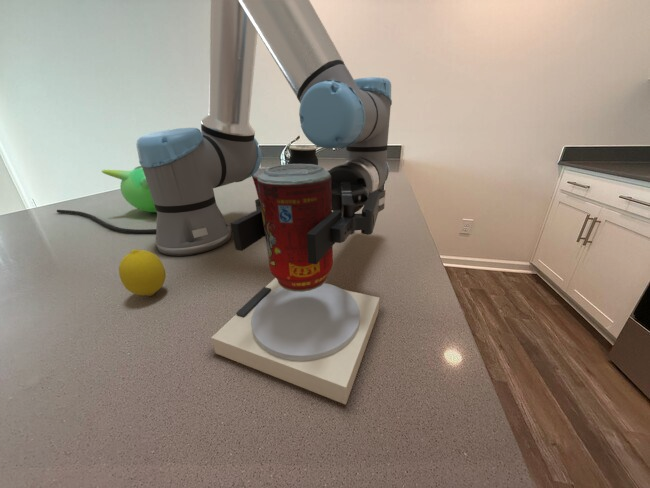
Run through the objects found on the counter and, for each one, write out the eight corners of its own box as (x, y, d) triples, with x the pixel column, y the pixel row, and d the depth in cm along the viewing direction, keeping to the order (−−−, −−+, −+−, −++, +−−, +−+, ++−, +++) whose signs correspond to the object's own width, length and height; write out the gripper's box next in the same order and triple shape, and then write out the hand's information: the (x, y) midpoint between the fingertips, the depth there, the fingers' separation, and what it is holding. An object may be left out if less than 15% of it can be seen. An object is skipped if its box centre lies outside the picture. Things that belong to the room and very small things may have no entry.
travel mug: (309, 204, 82) (308, 144, 74) (322, 212, 76) (323, 147, 68) (286, 209, 78) (283, 145, 70) (298, 217, 72) (296, 149, 64)
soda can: (266, 269, 31) (251, 165, 26) (320, 258, 34) (316, 160, 28) (278, 303, 25) (262, 177, 20) (343, 286, 28) (344, 169, 22)
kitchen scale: (215, 353, 30) (209, 332, 28) (279, 287, 41) (277, 270, 40) (345, 405, 24) (346, 381, 23) (378, 312, 36) (380, 292, 34)
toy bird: (203, 204, 86) (193, 158, 79) (164, 222, 71) (147, 167, 65) (158, 202, 90) (145, 158, 83) (112, 218, 75) (92, 166, 69)
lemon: (143, 286, 43) (125, 242, 39) (177, 283, 43) (163, 240, 40) (122, 307, 38) (100, 260, 34) (161, 304, 38) (143, 257, 35)
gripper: (412, 214, 40) (382, 302, 21) (297, 203, 47) (197, 261, 28) (418, 163, 36) (390, 213, 17) (294, 160, 44) (178, 193, 25)
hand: (271, 242), depth 23 cm, fingers closed on soda can, 7 cm apart
